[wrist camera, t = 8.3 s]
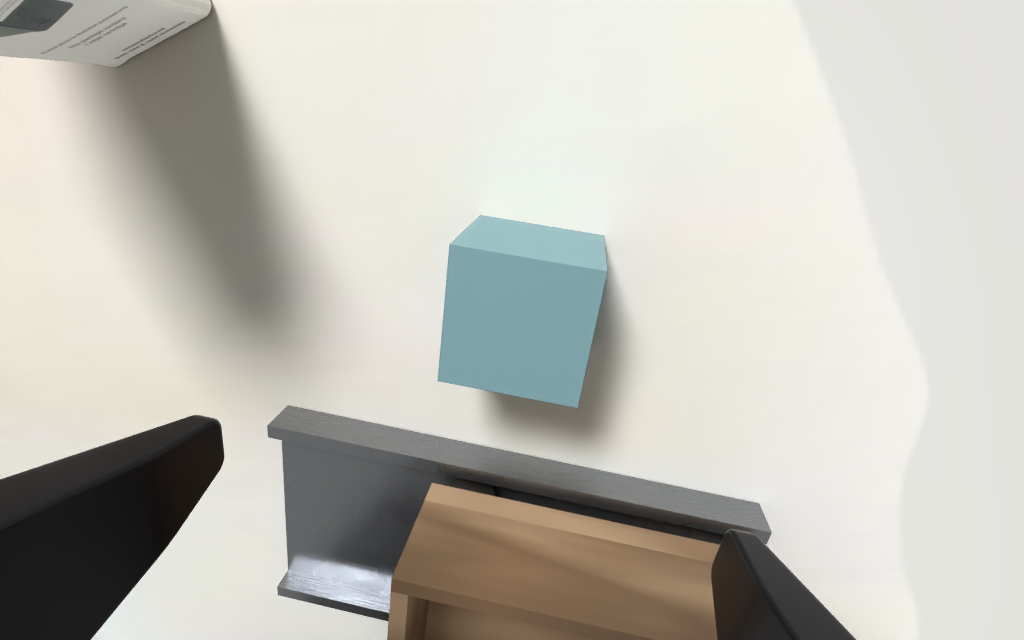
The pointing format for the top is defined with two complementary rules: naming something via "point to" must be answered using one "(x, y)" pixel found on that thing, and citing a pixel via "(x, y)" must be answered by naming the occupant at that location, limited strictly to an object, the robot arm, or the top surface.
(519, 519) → the wooden drawer
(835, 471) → the top surface
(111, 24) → the ink box
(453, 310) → the part block
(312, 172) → the top surface
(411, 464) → the track
